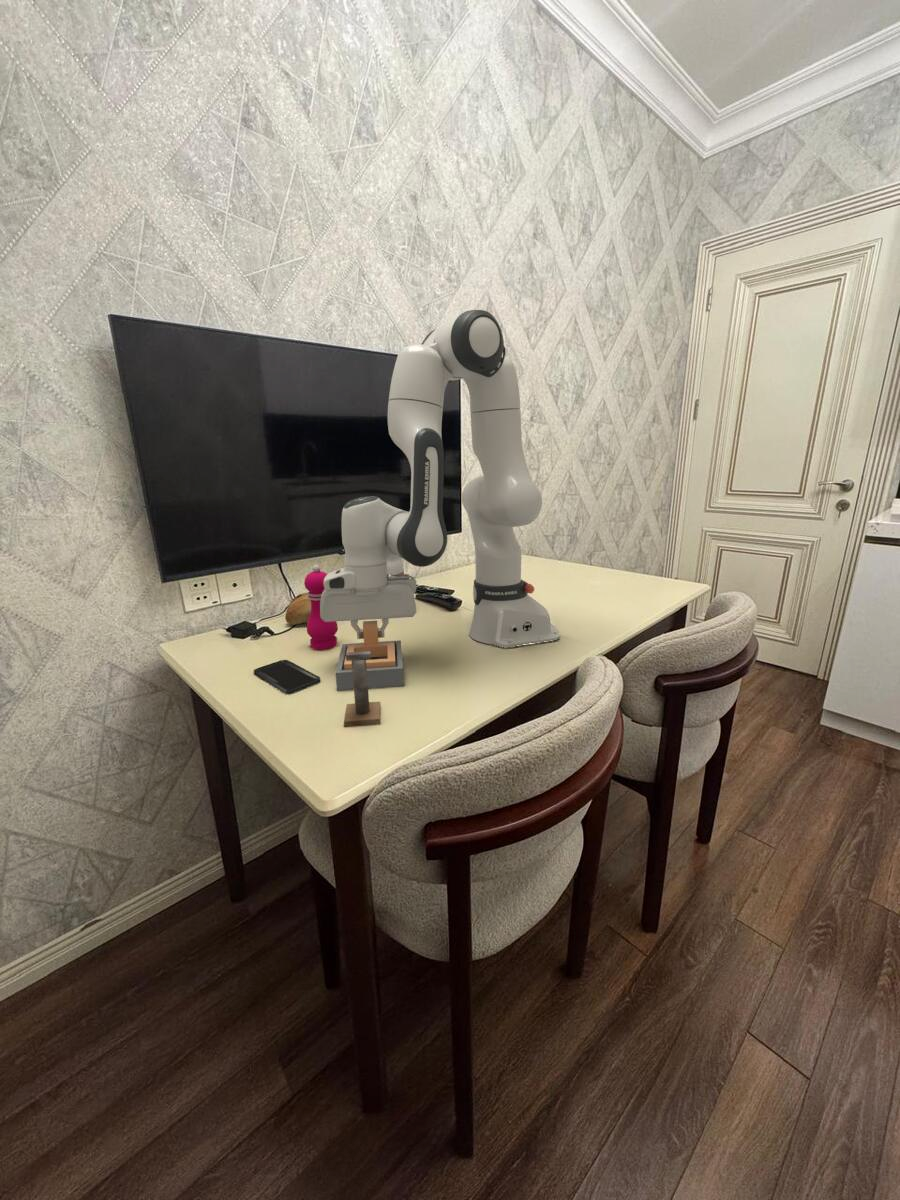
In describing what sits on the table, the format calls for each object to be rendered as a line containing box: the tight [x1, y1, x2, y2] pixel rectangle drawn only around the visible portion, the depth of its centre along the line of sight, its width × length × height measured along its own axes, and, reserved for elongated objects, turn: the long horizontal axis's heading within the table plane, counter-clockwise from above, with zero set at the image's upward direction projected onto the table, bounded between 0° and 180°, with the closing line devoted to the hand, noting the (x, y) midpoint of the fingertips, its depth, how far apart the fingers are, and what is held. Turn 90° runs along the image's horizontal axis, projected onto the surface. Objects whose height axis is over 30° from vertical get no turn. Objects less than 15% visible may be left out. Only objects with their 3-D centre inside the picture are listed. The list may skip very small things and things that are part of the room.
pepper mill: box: [304, 564, 339, 651], centre depth 113 cm, size 7×7×20 cm
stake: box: [343, 651, 381, 728], centre depth 82 cm, size 6×6×12 cm
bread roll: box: [285, 592, 311, 625], centre depth 132 cm, size 10×15×8 cm, turn 125°
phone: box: [253, 659, 322, 695], centre depth 99 cm, size 8×1×15 cm
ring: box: [344, 620, 396, 670], centre depth 99 cm, size 10×12×7 cm
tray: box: [335, 639, 405, 692], centre depth 100 cm, size 13×15×4 cm
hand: (371, 637), depth 104 cm, fingers closed on ring, 3 cm apart
